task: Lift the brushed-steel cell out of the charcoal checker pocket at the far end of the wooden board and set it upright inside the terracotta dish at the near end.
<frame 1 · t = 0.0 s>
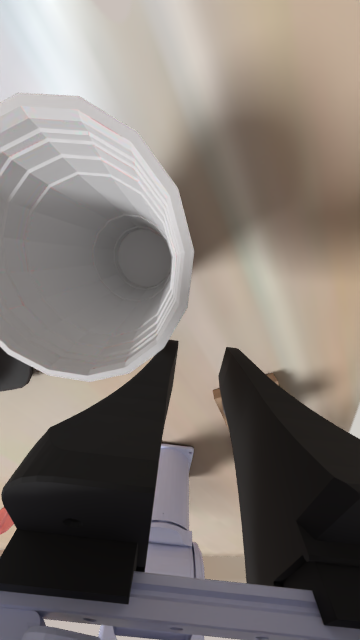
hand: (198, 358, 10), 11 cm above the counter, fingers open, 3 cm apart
plastic cup: (145, 257, 18), on the counter, touching gripper
figurine: (48, 504, 40), on the counter
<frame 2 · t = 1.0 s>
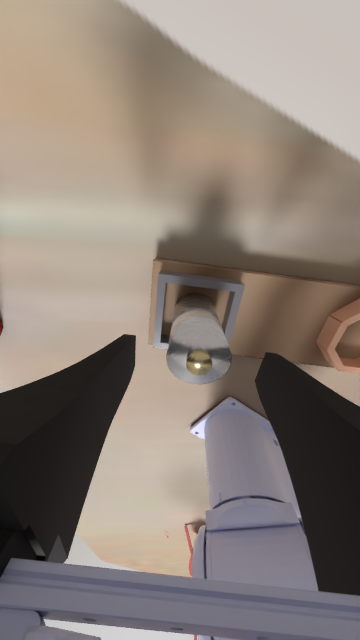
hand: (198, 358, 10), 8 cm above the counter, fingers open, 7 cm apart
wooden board: (269, 316, 18), on the counter
steel cell: (194, 312, 17), point 2 cm above the counter, touching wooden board
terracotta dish: (345, 325, 18), resting on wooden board
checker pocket: (194, 306, 18), resting on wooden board
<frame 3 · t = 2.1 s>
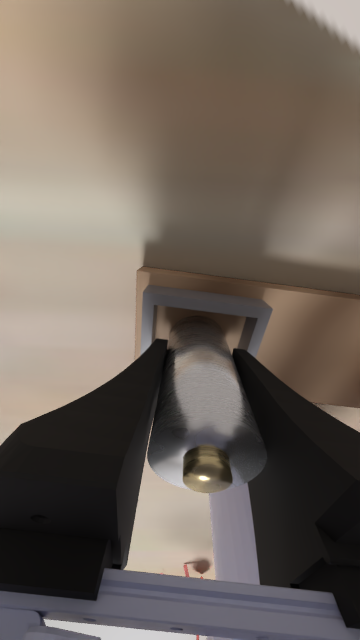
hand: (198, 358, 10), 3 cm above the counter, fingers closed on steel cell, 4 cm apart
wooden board: (297, 343, 13), on the counter
steel cell: (196, 340, 12), point 2 cm above the counter, touching gripper
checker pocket: (195, 330, 13), resting on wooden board
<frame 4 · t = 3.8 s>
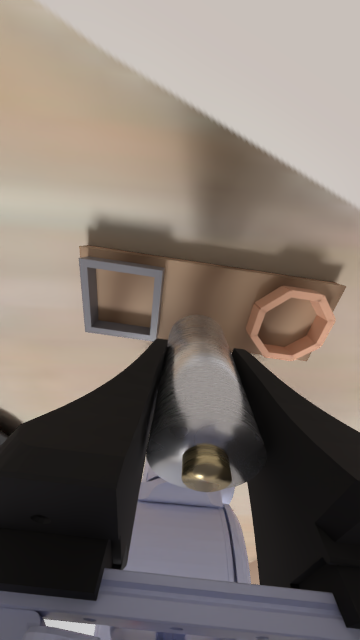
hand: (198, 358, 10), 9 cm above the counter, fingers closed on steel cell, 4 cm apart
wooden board: (204, 304, 19), on the counter
steel cell: (196, 340, 12), point 7 cm above the counter, touching gripper
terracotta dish: (276, 315, 19), resting on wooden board
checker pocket: (130, 293, 19), resting on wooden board
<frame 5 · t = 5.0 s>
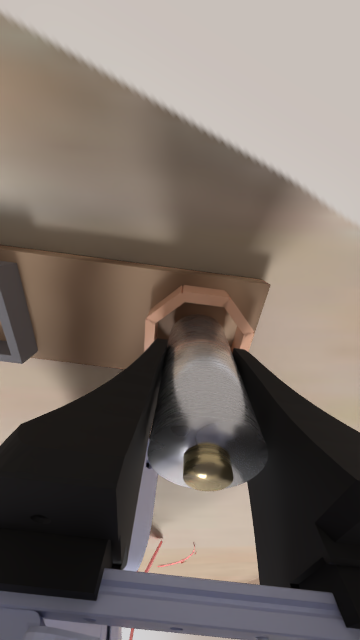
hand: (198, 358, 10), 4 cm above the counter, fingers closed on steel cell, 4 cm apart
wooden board: (98, 311, 14), on the counter
steel cell: (196, 339, 12), point 3 cm above the counter, touching gripper
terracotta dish: (195, 323, 14), resting on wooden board
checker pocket: (0, 299, 14), resting on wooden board
when the fingers open (4 cm above the counter, at t = 5.7 s): steel cell stays where it is, resting on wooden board.
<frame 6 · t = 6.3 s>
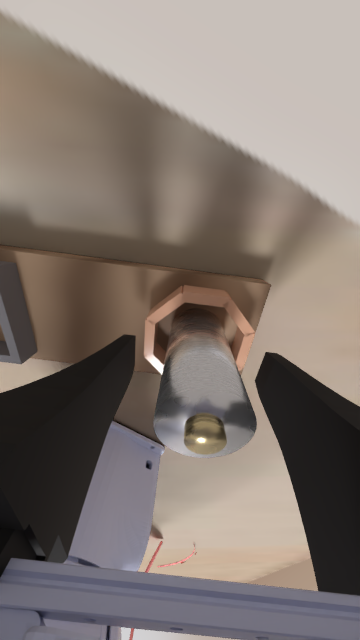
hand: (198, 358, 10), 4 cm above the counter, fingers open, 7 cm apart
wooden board: (98, 311, 14), on the counter
steel cell: (196, 332, 13), point 1 cm above the counter, touching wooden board
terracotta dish: (195, 324, 14), resting on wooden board
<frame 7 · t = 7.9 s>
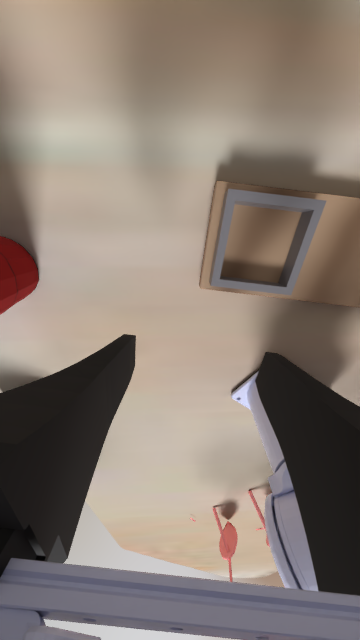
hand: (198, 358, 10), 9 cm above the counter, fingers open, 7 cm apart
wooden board: (334, 255, 16), on the counter
plastic cup: (9, 265, 18), on the counter
figurine: (254, 510, 37), on the counter
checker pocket: (250, 245, 16), resting on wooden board
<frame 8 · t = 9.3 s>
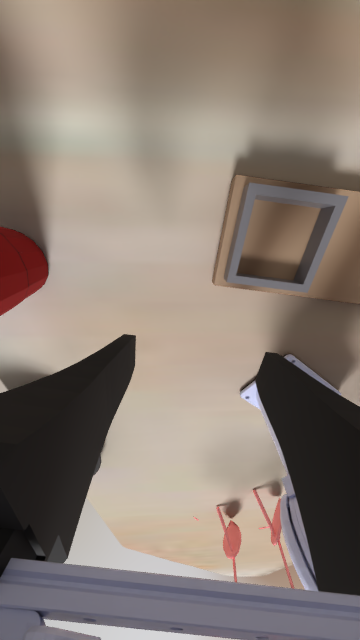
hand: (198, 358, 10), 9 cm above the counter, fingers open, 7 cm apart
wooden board: (349, 253, 16), on the counter
plastic cup: (18, 260, 18), on the counter
figurine: (257, 509, 37), on the counter
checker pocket: (266, 242, 16), resting on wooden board
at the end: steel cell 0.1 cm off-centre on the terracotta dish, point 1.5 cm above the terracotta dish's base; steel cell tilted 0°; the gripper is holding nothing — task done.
